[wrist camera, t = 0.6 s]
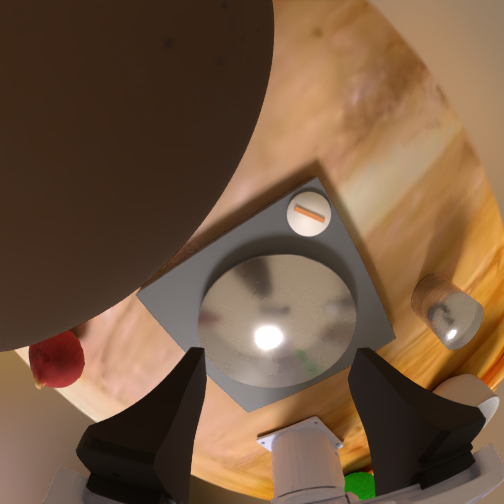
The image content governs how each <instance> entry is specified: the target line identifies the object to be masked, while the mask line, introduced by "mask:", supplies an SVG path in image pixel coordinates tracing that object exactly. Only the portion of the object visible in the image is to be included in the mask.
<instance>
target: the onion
mask: <svg viewBox="0 0 504 504" xmlns="http://www.w3.org/2000/svg"><path fill="white" fill-rule="evenodd" d="M29 361H30V367H31V370H32V372H33V376H34V379H35V382H34V383H35V385H36V387H37V388H38V389H42V387H43V386H44V385H46V386H49V387H52V388H63V387H67V386H69V385H71V384H72V383H74V382H75V381H76V380H77V379H78V378H80V376H81V374H82V371H83V368H84V365H85V362H84V353H83V349H82V347H81V345H80V342H79V340H78V338H77V337H76V335H75V334H73V333H72V332H71V331H70V330H67V331H65V332H62V333H60V334H58V335H56V336H53V337H51V338H49V339H46V340H43V341H41V342H38V343H36V344H33V345H30V346H29Z"/></svg>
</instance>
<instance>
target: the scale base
mask: <svg viewBox="0 0 504 504" xmlns="http://www.w3.org/2000/svg"><path fill="white" fill-rule="evenodd" d="M276 252H281V253H295V254H301V255H304V256H308V257H311V258H313V259H316V260H318V261H320V262H322V263H324V264H325V265H327V266H328V267H330V268H331V269H332V270H333V271H335V272H336V273H337V274H338V276H339V277H340V278H341V279H342V280H343V282H344V283H345V284H346V286H347V288H348V289H349V291H350V293H351V295H352V298H353V300H354V304H355V308H356V325H355V330H354V334H353V336H352V339H351V342H350V343H349V345H348V347H347V349H346V350H345V352H344V353H343V355H342V356H341V357H340V358H339V359H338V360H337V362H336V363H335V364H333V365H332V366H331V367H330V368H329V369H327V370H326V371H325V372H323V373H322V374H320V375H318V376H316V377H315V378H313V379H310V380H308V381H306V382H303V383H300V384H296V385H292V386H287V387H278V388H267V387H258V386H252V385H248V384H245V383H242V382H239V381H237V380H235V379H233V378H231V377H229V376H227V375H226V374H224V373H223V372H222V371H220V370H219V369H218V368H217V367H216V366H215V365H214V364H213V363H212V362H211V361H210V360H209V358H208V357H207V355H206V354H205V362H206V374H207V375H208V376H209V377H210V378H211V379H212V380H213V381H214V382H215V383H216V384H217V385H218V386H219V387H220V388H221V389H222V390H224V391H225V392H226V393H227V394H228V395H229V396H230V397H231V398H232V399H233V400H234V401H235V402H237V403H238V404H239V405H240V406H241V407H242V408H243V409H244V410H245V411H247V412H248V413H249V412H251V411H254V410H257V409H259V408H262V407H264V406H267V405H269V404H272V403H274V402H276V401H279V400H281V399H283V398H286V397H288V396H290V395H293V394H295V393H297V392H299V391H301V390H304V389H306V388H308V387H310V386H312V385H314V384H316V383H318V382H320V381H322V380H324V379H326V378H328V377H330V376H332V375H334V374H336V373H338V372H340V371H341V370H343V369H345V368H347V367H349V366H351V365H352V364H353V361H354V358H355V354H356V351H357V348H365V347H369V348H370V349H372V350H373V351H374V352H375V351H376V350H378V349H380V348H381V347H383V346H384V345H386V344H388V343H389V342H391V341H392V340H394V339H395V338H396V337H395V334H394V332H393V329H392V327H391V324H390V322H389V319H388V317H387V315H386V312H385V310H384V307H383V305H382V303H381V301H380V298H379V296H378V294H377V291H376V289H375V287H374V285H373V283H372V280H371V278H370V276H369V274H368V272H367V270H366V267H365V265H364V263H363V261H362V259H361V257H360V255H359V253H358V251H357V249H356V247H355V245H354V243H353V241H352V239H351V237H350V235H349V233H348V231H347V229H346V227H345V225H344V224H343V222H342V220H341V218H340V216H339V214H338V212H337V211H336V209H335V207H334V205H333V203H332V201H331V200H330V198H329V196H328V194H327V193H326V191H325V189H324V187H323V186H322V184H321V182H320V180H319V179H318V177H315V176H313V177H312V178H310V179H308V180H307V181H305V182H303V183H302V184H300V185H298V186H297V187H295V188H294V189H292V190H290V191H289V192H287V193H285V194H284V195H282V196H281V197H279V198H277V199H276V200H274V201H273V202H271V203H269V204H268V205H266V206H265V207H263V208H261V209H260V210H258V211H257V212H255V213H254V214H252V215H250V216H249V217H247V218H246V219H244V220H243V221H241V222H239V223H238V224H236V225H235V226H233V227H232V228H230V229H229V230H227V231H225V232H224V233H222V234H221V235H219V236H218V237H216V238H215V239H213V240H212V241H210V242H209V243H207V244H206V245H204V246H203V247H201V248H200V249H198V250H196V251H195V252H193V253H192V254H190V255H189V256H187V257H186V258H184V259H183V260H182V261H180V262H179V263H177V264H176V265H174V266H173V267H171V268H170V269H168V270H167V271H165V272H164V273H162V274H161V275H159V276H158V277H156V278H155V279H154V280H152V281H151V282H149V283H148V284H146V285H145V286H143V287H142V288H141V289H140V290H139V291H138V292H137V294H136V296H137V297H138V299H139V300H140V301H141V302H142V304H143V305H144V306H145V307H146V308H147V310H148V311H149V312H150V313H151V314H152V316H153V317H154V318H155V319H156V320H157V321H158V323H159V324H160V325H161V326H162V327H163V328H164V329H165V331H166V332H167V333H168V334H169V335H170V336H171V337H172V338H173V339H174V341H175V342H176V343H177V344H178V345H179V346H180V347H181V348H182V349H183V350H184V351H185V352H187V351H188V350H189V348H191V347H201V348H202V346H201V343H200V339H199V336H198V316H199V312H200V308H201V305H202V302H203V300H204V297H205V295H206V293H207V292H208V290H209V288H210V287H211V285H212V284H213V283H214V282H215V281H216V279H217V278H218V277H220V276H221V275H222V274H223V273H224V272H225V271H227V270H228V269H229V268H231V267H232V266H234V265H236V264H238V263H239V262H241V261H243V260H246V259H249V258H251V257H254V256H258V255H262V254H268V253H276Z"/></svg>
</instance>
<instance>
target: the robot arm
mask: <svg viewBox="0 0 504 504" xmlns="http://www.w3.org/2000/svg"><path fill="white" fill-rule="evenodd" d="M206 382H207V376H206V362H205V348H201V347H191V348H189V350H188V351H187V352H186V354H185V355H184V356H183V358H182V359H181V360H180V362H179V363H178V364H177V365H176V366H175V368H174V369H173V370H172V371H171V372H170V373H169V374H168V375H167V377H166V378H165V379H164V380H163V381H162V382H161V383H160V384H158V385H157V386H156V387H155V388H154V389H153V390H152V391H151V392H150V393H148V394H147V395H146V396H145V397H143V398H142V399H141V400H139V401H138V402H136V403H135V404H133V405H132V406H130V407H129V408H127V409H125V410H124V411H122V412H120V413H118V414H116V415H114V416H112V417H110V418H108V419H106V420H103V421H100V422H98V423H95V424H93V425H90V426H89V427H88V428H87V429H86V431H85V432H84V434H83V436H82V438H81V440H80V442H79V444H78V447H77V449H76V454H77V456H78V457H79V459H80V460H81V461H82V463H83V464H84V465H85V466H86V468H87V469H88V470H89V471H90V472H91V474H90V476H89V478H87V477H86V476H84V475H82V474H80V473H78V472H75V471H73V470H71V469H68V468H66V467H64V466H61V465H59V466H58V468H57V470H56V473H55V475H54V477H53V479H52V481H51V484H50V486H49V488H48V490H47V493H46V495H45V497H44V500H43V502H42V504H188V501H189V485H190V473H191V463H192V454H193V446H194V439H195V434H196V430H197V426H198V422H199V418H200V414H201V410H202V406H203V402H204V398H205V390H206ZM348 382H349V387H350V391H351V395H352V398H353V401H354V403H355V406H356V409H357V411H358V414H359V416H360V419H361V421H362V424H363V427H364V429H365V433H366V436H367V440H368V444H369V449H370V454H371V460H372V466H373V474H374V483H375V497H374V498H370V499H366V500H362V501H359V498H358V496H357V495H356V494H354V493H352V492H346V493H345V491H344V487H345V479H344V475H343V471H342V467H341V463H340V459H339V455H338V451H337V449H339V448H341V447H343V443H342V442H341V441H340V440H339V439H338V438H337V437H336V436H335V435H334V434H333V433H332V432H331V430H330V429H329V428H328V427H327V426H326V425H325V424H324V423H323V422H322V421H321V420H320V419H319V418H318V417H316V416H314V417H311V418H309V419H306V420H304V421H301V422H299V423H297V424H294V425H291V426H289V427H286V428H284V429H281V430H278V431H276V432H273V433H270V434H267V435H264V436H261V437H258V438H257V442H258V443H259V444H260V445H262V446H263V447H265V448H266V449H267V450H269V451H270V452H271V455H272V471H273V487H274V498H273V499H271V504H474V503H476V502H477V501H479V500H480V499H482V498H483V497H484V496H485V495H487V494H488V493H490V492H491V491H492V490H493V489H494V488H496V487H497V486H498V485H499V484H500V483H502V482H503V481H504V463H503V462H502V460H501V458H500V457H499V455H498V453H497V451H496V450H495V448H494V446H493V445H492V444H489V445H487V446H485V447H483V448H482V449H480V450H478V451H477V452H475V453H474V454H473V455H472V453H471V452H470V451H471V450H472V449H473V446H472V444H471V442H472V441H473V440H474V438H475V437H476V436H477V435H478V433H479V432H480V431H481V430H482V428H483V427H484V425H485V423H486V418H485V416H484V415H483V413H482V412H481V410H480V409H479V408H478V407H474V406H470V405H465V404H461V403H458V402H455V401H451V400H449V399H446V398H443V397H441V396H439V395H437V394H434V393H432V392H430V391H428V390H427V389H425V388H423V387H421V386H420V385H418V384H416V383H415V382H413V381H412V380H410V379H409V378H407V377H406V376H404V375H403V374H402V373H400V372H399V371H398V370H396V369H395V368H394V367H393V366H391V365H390V364H389V363H388V362H386V361H385V360H384V359H383V358H382V357H380V356H379V355H378V354H377V353H375V352H374V351H373V350H372V349H370V348H369V347H365V348H357V351H356V354H355V358H354V361H353V364H352V367H351V370H350V373H349V376H348Z"/></svg>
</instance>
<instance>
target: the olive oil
mask: <svg viewBox="0 0 504 504" xmlns="http://www.w3.org/2000/svg"><path fill="white" fill-rule="evenodd" d="M273 46H274V11H273V2H272V0H0V352H3V351H10V350H15V349H18V348H22V347H26V346H29V345H33V344H36V343H38V342H41V341H43V340H46V339H49V338H51V337H53V336H56V335H58V334H60V333H62V332H65V331H67V330H69V329H71V328H73V327H75V326H78V325H80V324H82V323H84V322H86V321H88V320H90V319H92V318H94V317H95V316H97V315H99V314H101V313H103V312H104V311H106V310H108V309H109V308H111V307H113V306H114V305H116V304H117V303H119V302H120V301H122V300H123V299H125V298H126V297H127V296H129V295H130V294H131V293H133V292H134V291H135V290H137V289H138V288H139V287H141V286H142V285H143V284H145V283H146V282H147V281H148V280H149V279H150V278H152V277H153V276H154V275H155V274H156V273H157V272H158V271H159V270H160V269H161V268H162V267H163V266H164V265H165V264H166V263H167V262H168V261H169V260H170V259H171V258H172V257H173V256H174V255H175V254H176V253H177V252H178V251H179V250H180V249H181V248H182V247H183V246H184V244H185V243H186V242H187V241H188V240H189V239H190V237H191V236H192V235H193V234H194V232H195V231H196V230H197V229H198V227H199V226H200V225H201V223H202V222H203V221H204V219H205V218H206V217H207V215H208V214H209V213H210V211H211V210H212V208H213V207H214V205H215V204H216V202H217V201H218V199H219V198H220V196H221V195H222V193H223V192H224V190H225V188H226V187H227V185H228V183H229V181H230V180H231V178H232V176H233V174H234V173H235V171H236V169H237V167H238V165H239V163H240V161H241V159H242V157H243V155H244V153H245V150H246V148H247V146H248V144H249V141H250V139H251V137H252V134H253V131H254V129H255V126H256V123H257V121H258V118H259V115H260V112H261V108H262V105H263V102H264V98H265V94H266V90H267V85H268V81H269V76H270V71H271V65H272V57H273Z"/></svg>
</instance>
